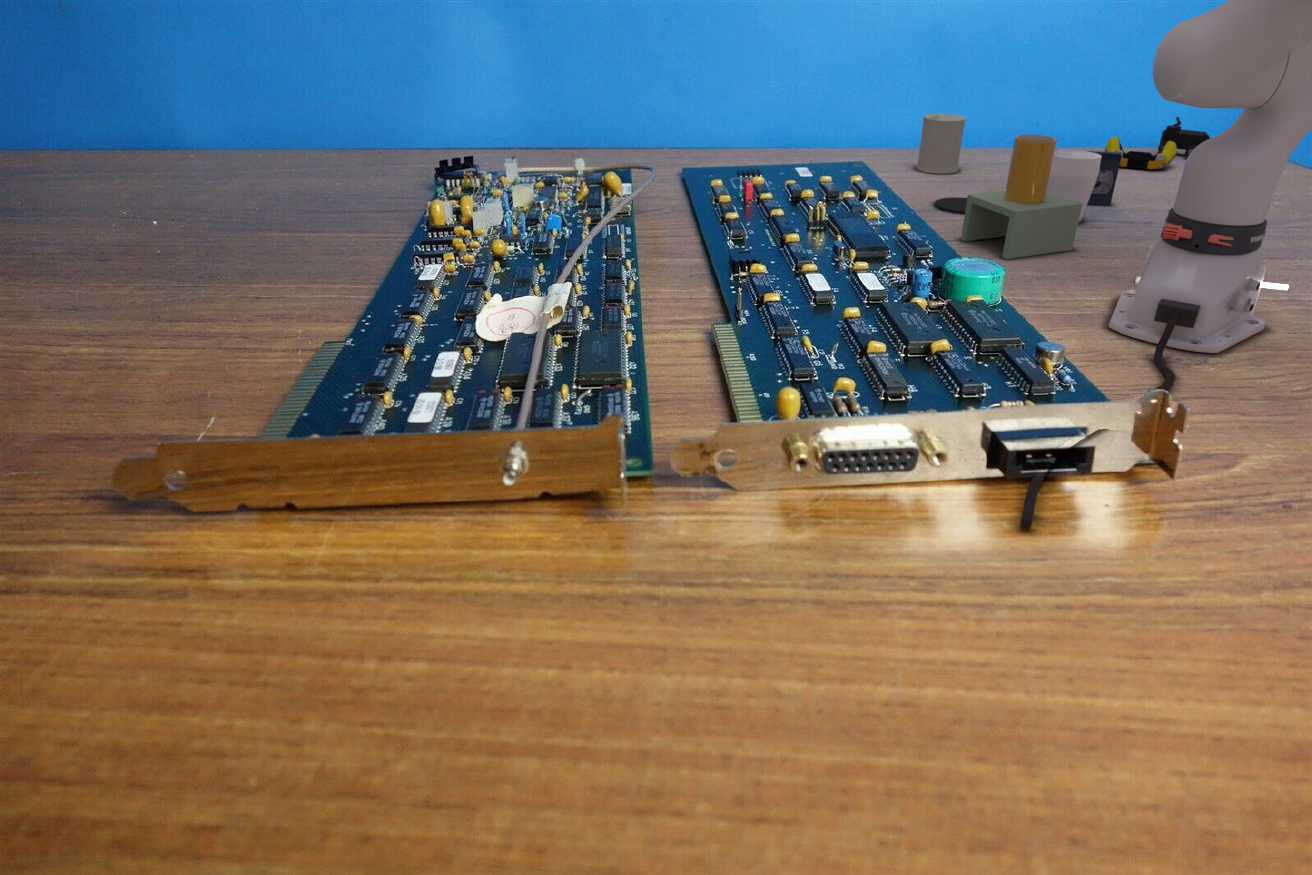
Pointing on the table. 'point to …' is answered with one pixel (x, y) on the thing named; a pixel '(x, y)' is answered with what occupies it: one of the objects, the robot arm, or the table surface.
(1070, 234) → the shelf
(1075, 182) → the cup
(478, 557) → the table surface
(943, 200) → the mat
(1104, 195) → the vhs cassette tape
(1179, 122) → the toy vehicle
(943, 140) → the can
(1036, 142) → the tumbler
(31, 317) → the table surface
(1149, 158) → the gaming controller
